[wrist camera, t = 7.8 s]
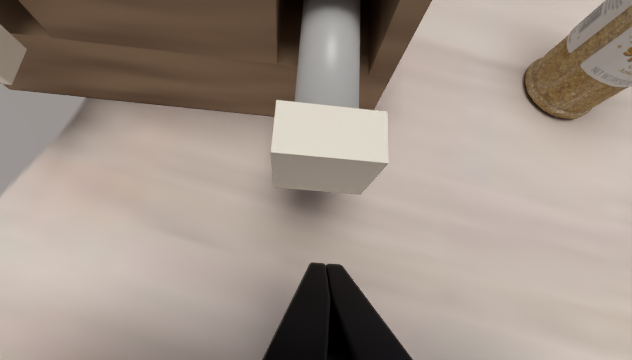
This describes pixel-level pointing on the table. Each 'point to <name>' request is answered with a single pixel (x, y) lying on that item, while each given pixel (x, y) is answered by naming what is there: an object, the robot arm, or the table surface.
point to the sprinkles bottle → (585, 63)
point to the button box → (191, 49)
